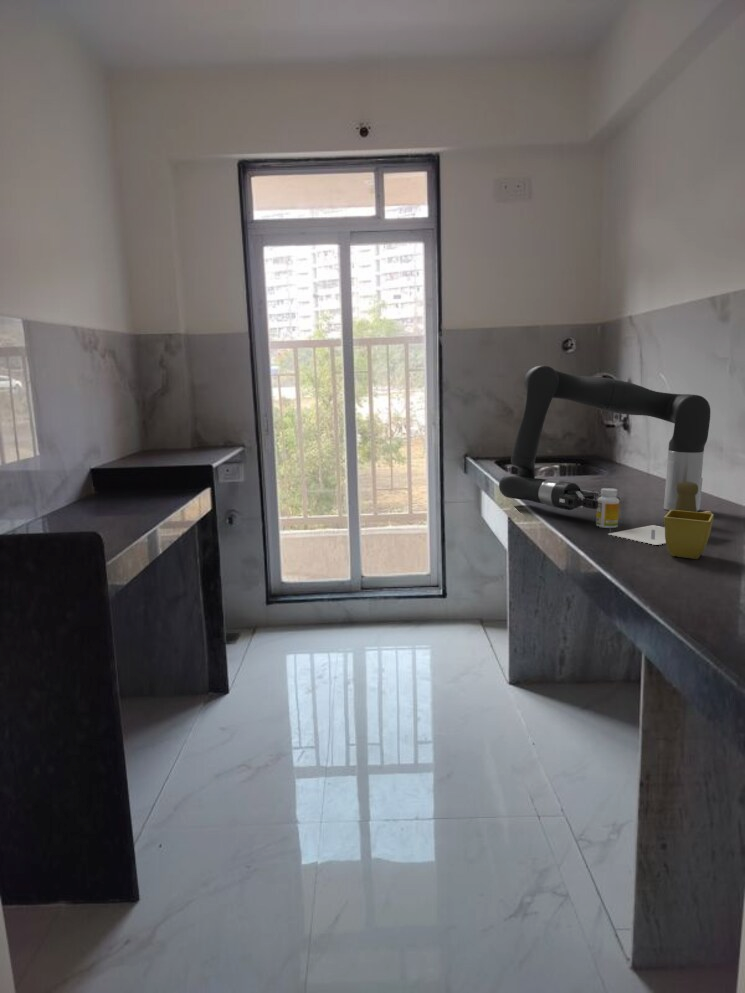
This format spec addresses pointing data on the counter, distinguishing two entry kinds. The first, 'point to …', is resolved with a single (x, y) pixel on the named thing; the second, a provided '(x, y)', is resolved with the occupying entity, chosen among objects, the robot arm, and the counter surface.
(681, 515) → the flower pot
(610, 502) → the supplement bottle
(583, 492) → the robot arm
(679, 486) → the olive chess pawn
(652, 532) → the paper
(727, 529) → the counter surface
